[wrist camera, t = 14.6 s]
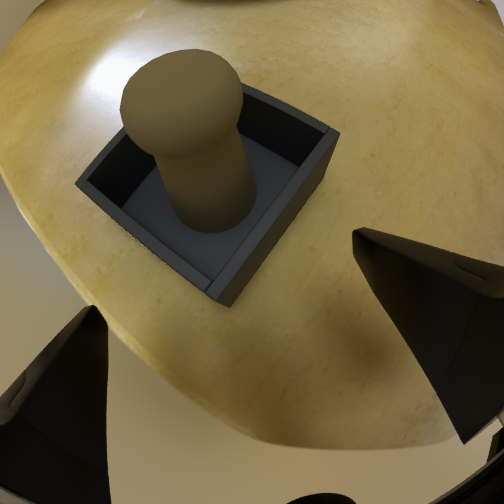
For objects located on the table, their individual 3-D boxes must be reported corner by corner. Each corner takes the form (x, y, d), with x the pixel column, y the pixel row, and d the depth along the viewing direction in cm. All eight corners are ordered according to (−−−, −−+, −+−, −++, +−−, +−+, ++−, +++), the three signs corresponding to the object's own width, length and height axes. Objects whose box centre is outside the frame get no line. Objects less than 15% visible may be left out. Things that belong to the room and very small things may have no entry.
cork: (240, 244, 19) (214, 147, 8) (158, 219, 19) (72, 125, 8) (267, 166, 20) (271, 38, 9) (190, 148, 20) (146, 32, 10)
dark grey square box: (323, 177, 20) (341, 132, 15) (229, 307, 18) (215, 302, 13) (204, 111, 22) (192, 63, 17) (112, 214, 20) (73, 183, 15)
